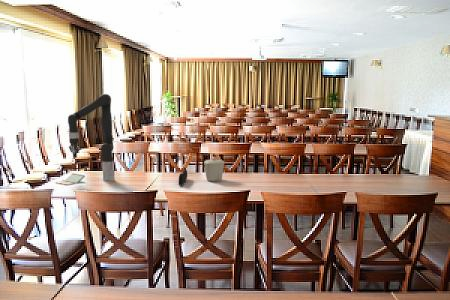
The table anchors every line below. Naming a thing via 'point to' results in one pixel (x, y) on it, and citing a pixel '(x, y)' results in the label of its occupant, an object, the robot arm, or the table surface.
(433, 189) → the table surface
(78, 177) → the sage plank
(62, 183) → the ash board
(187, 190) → the table surface
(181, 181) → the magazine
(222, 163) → the canister
